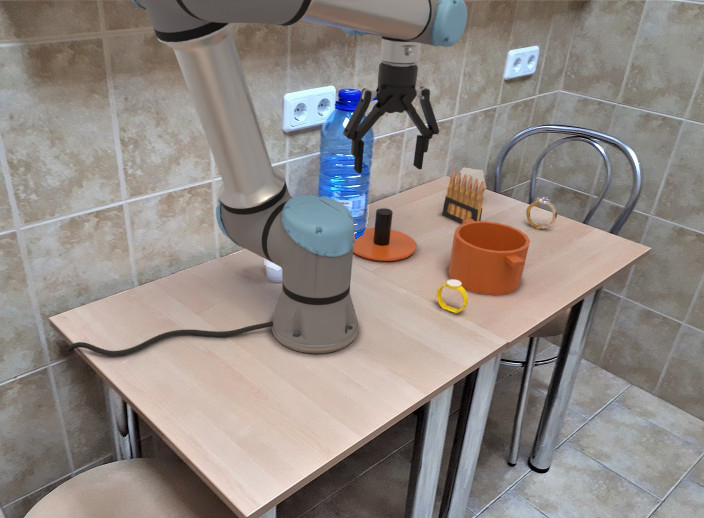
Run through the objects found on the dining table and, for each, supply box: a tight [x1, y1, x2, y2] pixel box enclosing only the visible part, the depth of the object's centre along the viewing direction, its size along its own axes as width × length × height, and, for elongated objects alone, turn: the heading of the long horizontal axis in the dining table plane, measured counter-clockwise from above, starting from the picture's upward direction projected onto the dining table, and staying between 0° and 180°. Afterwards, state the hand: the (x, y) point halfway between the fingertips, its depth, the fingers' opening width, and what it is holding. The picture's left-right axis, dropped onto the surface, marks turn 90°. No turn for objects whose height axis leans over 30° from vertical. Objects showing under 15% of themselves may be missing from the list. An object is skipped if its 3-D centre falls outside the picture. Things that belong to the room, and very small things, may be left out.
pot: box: [447, 219, 531, 296], centre depth 126 cm, size 15×20×10 cm
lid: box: [353, 207, 417, 262], centre depth 136 cm, size 16×16×9 cm
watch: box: [436, 279, 469, 314], centre depth 115 cm, size 6×3×6 cm, turn 49°
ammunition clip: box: [441, 169, 485, 225], centre depth 149 cm, size 11×2×12 cm, turn 38°
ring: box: [525, 196, 558, 230], centre depth 148 cm, size 7×3×8 cm, turn 50°
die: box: [455, 166, 487, 194], centre depth 163 cm, size 8×9×10 cm
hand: (388, 169), depth 129 cm, fingers open, 13 cm apart
